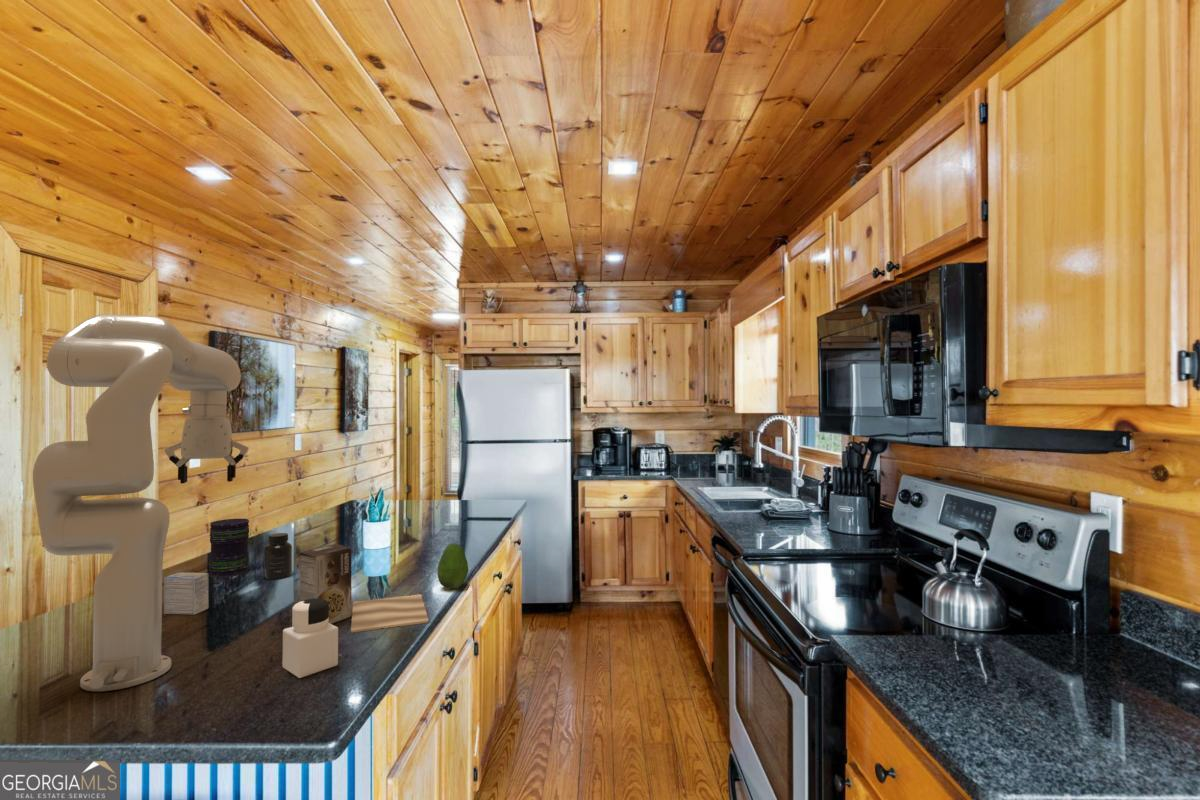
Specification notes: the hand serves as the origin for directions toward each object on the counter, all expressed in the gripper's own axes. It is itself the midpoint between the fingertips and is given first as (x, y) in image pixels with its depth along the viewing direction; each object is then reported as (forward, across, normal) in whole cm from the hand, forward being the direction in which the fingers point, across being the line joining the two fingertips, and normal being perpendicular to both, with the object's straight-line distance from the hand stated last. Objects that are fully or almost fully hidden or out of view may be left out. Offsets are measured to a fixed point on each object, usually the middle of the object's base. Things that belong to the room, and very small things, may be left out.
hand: (207, 482), depth 143 cm
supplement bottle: (+30, +14, +21) cm, 39 cm away
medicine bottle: (+31, +26, -49) cm, 63 cm away
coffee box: (+30, +28, -24) cm, 48 cm away
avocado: (+30, +58, -10) cm, 66 cm away
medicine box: (+30, -3, -4) cm, 31 cm away
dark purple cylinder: (+30, 0, +31) cm, 43 cm away
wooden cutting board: (+30, +41, -24) cm, 56 cm away
